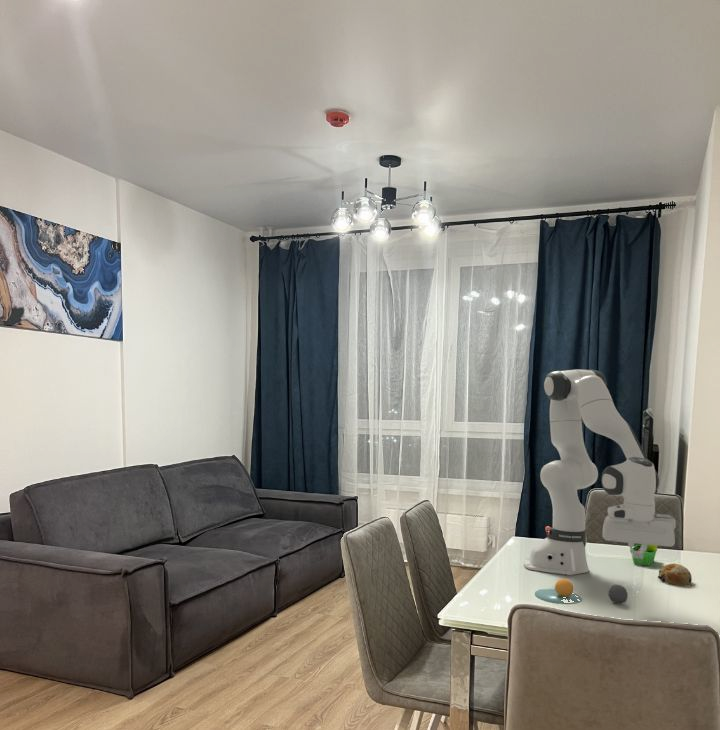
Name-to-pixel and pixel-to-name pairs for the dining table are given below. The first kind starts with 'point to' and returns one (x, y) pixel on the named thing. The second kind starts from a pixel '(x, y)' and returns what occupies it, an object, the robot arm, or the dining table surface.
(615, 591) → the dark gray ball
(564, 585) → the object ball
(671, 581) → the bread roll
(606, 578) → the dining table surface
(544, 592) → the teal patterned plate
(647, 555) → the fruit basket
